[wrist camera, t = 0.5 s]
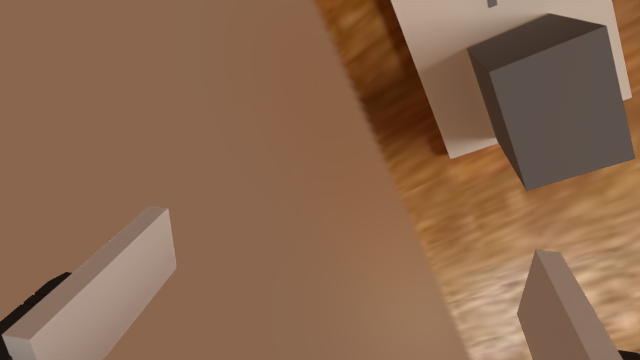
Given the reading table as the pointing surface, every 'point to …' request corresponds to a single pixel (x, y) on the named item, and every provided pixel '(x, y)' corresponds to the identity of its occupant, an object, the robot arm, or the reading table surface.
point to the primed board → (454, 63)
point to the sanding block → (553, 98)
